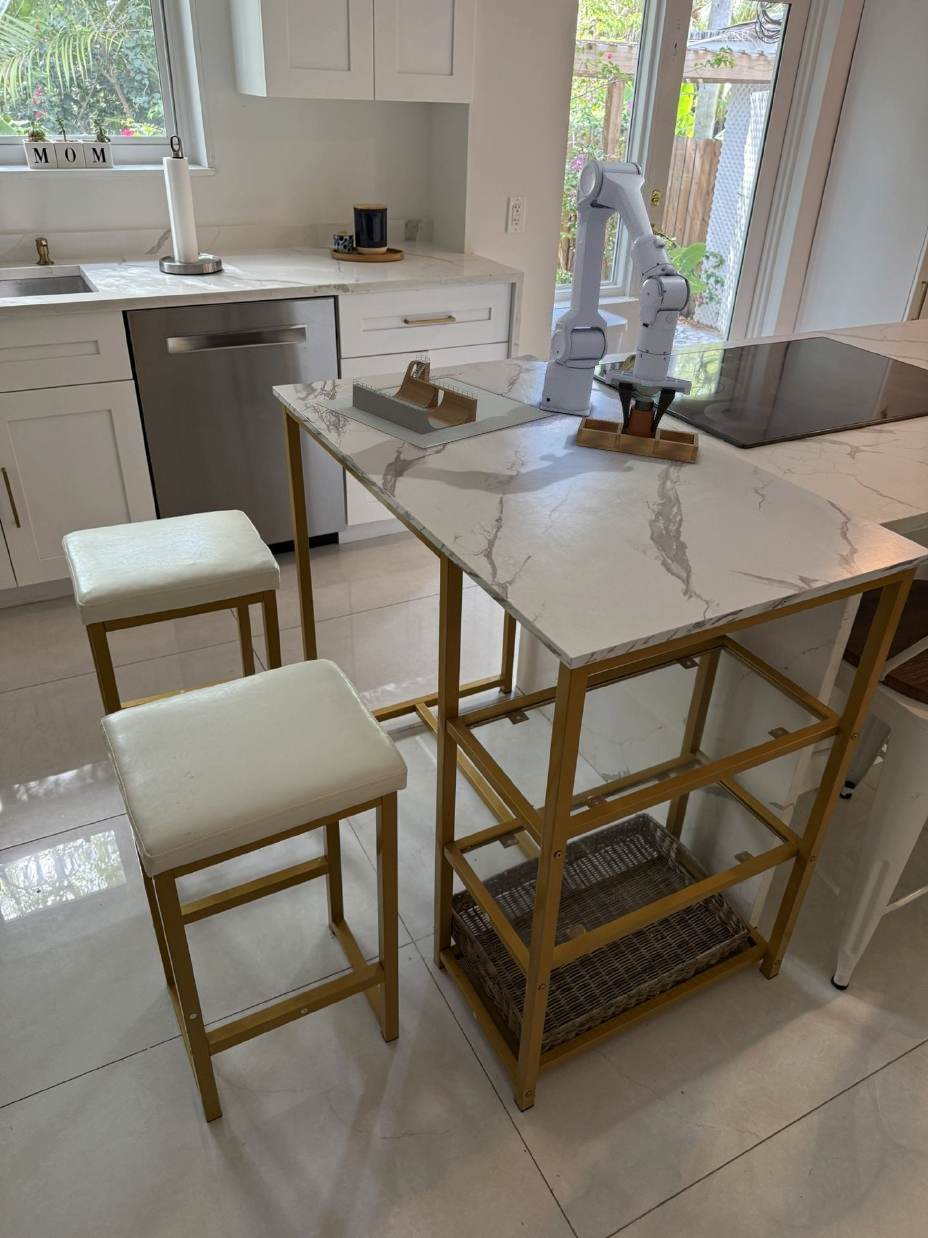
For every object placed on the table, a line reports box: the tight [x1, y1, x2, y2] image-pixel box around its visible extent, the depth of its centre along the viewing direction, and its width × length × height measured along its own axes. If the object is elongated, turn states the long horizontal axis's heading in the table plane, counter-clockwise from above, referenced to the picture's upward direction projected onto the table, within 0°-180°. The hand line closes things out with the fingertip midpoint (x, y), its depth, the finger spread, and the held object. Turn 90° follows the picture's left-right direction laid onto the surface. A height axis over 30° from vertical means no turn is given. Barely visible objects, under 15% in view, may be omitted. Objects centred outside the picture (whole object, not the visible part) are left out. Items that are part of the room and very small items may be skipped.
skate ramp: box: [315, 354, 555, 449], centre depth 165 cm, size 29×35×8 cm
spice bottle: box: [626, 396, 657, 438], centre depth 155 cm, size 4×4×8 cm
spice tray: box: [575, 416, 700, 464], centre depth 157 cm, size 21×8×3 cm, turn 77°
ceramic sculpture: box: [602, 353, 661, 397], centre depth 190 cm, size 11×9×15 cm
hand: (639, 428), depth 156 cm, fingers closed on spice bottle, 4 cm apart
